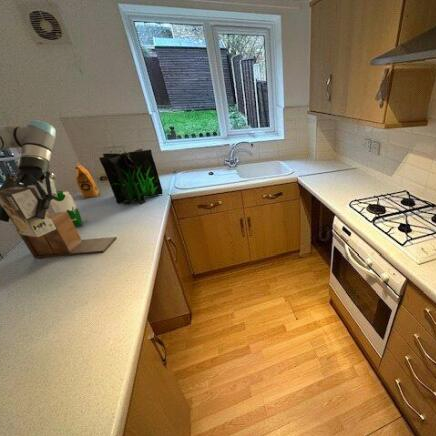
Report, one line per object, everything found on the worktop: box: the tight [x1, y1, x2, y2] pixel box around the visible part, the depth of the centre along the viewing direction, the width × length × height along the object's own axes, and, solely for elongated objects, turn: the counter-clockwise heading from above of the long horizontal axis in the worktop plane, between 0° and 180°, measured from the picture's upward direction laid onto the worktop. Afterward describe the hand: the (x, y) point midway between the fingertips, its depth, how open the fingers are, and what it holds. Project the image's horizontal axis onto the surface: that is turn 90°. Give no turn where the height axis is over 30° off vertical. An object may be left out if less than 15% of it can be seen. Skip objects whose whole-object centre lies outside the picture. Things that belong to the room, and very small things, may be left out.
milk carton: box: [50, 190, 83, 228], centre depth 128 cm, size 9×9×20 cm
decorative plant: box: [98, 148, 164, 206], centre depth 162 cm, size 29×30×30 cm
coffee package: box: [74, 163, 100, 199], centre depth 167 cm, size 10×12×22 cm
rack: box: [15, 211, 117, 260], centre depth 108 cm, size 28×12×17 cm, turn 99°
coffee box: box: [0, 186, 56, 237], centre depth 82 cm, size 9×6×16 cm
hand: (21, 219), depth 80 cm, fingers closed on coffee box, 10 cm apart
